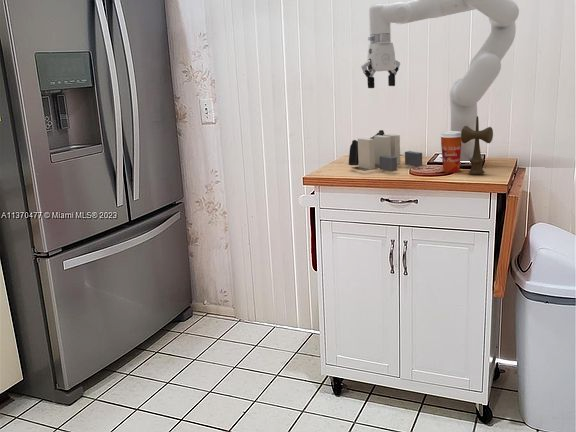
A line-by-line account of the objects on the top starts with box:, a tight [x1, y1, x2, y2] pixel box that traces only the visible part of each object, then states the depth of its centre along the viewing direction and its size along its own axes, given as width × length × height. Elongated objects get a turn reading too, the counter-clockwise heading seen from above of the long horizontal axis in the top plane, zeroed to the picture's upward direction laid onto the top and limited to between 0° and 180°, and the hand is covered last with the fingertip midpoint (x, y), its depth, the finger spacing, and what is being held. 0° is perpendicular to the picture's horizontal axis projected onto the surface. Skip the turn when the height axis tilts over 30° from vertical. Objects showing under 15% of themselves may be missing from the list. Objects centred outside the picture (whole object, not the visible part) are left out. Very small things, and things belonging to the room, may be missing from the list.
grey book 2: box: [404, 150, 423, 168], centre depth 224 cm, size 7×2×6 cm, turn 29°
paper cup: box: [439, 130, 461, 174], centre depth 212 cm, size 8×8×14 cm
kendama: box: [461, 115, 494, 176], centre depth 204 cm, size 6×10×20 cm, turn 52°
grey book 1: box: [379, 155, 398, 172], centre depth 218 cm, size 7×2×6 cm, turn 29°
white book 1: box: [357, 137, 376, 170], centre depth 224 cm, size 7×2×11 cm, turn 29°
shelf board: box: [351, 163, 401, 172], centre depth 228 cm, size 9×17×1 cm, turn 119°
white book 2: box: [373, 135, 391, 165], centre depth 227 cm, size 7×2×11 cm, turn 29°
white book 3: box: [383, 133, 401, 165], centre depth 229 cm, size 7×2×11 cm, turn 29°
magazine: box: [348, 129, 385, 166], centre depth 243 cm, size 17×3×30 cm
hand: (381, 87), depth 224 cm, fingers open, 9 cm apart
